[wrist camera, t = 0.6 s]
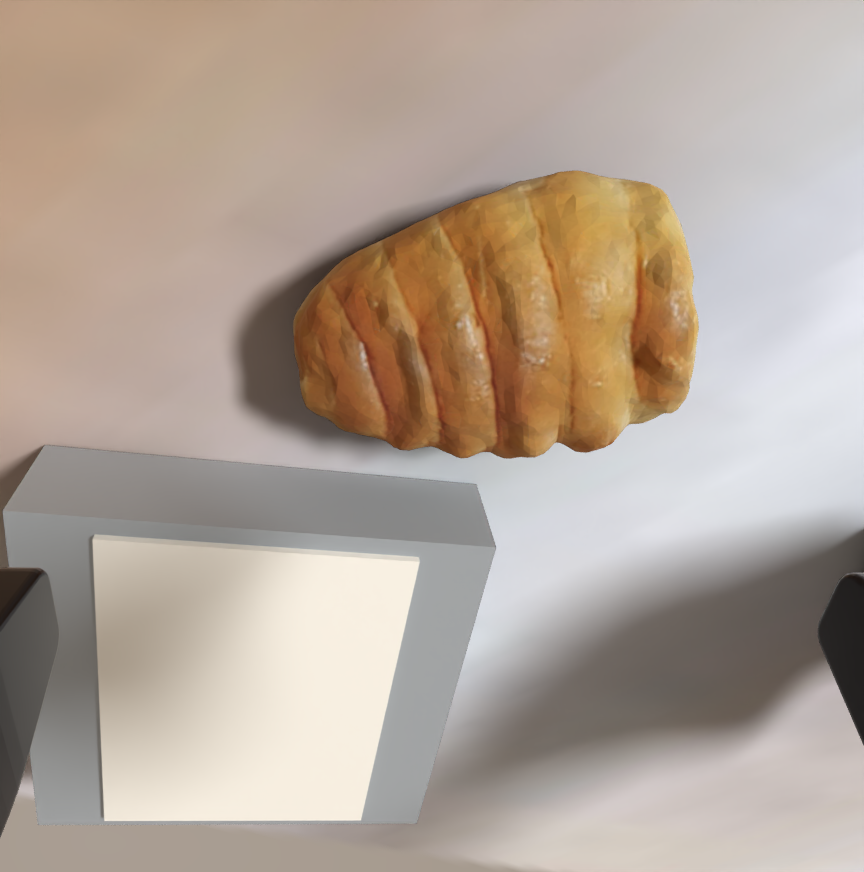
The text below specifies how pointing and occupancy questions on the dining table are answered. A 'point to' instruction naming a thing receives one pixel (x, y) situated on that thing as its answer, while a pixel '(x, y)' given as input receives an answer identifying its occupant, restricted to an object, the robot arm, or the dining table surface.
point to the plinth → (244, 637)
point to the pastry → (508, 322)
